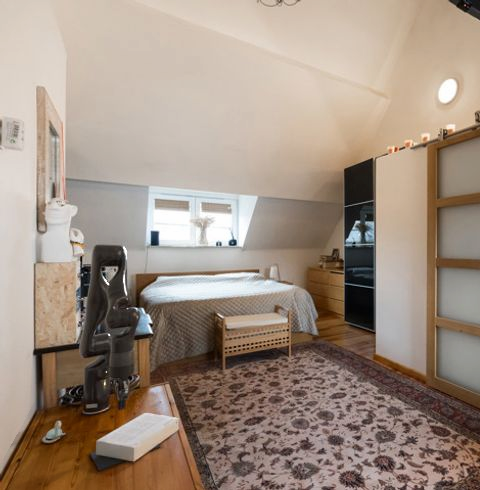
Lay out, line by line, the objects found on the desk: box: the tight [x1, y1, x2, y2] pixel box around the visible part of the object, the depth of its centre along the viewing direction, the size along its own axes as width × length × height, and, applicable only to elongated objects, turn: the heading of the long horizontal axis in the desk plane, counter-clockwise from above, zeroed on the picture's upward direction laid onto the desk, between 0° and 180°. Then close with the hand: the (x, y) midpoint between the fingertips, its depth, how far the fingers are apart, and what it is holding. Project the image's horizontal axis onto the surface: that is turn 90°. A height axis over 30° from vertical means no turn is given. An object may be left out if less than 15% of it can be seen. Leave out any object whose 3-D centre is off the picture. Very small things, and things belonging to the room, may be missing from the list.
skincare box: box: [95, 412, 180, 462], centre depth 130 cm, size 21×6×16 cm
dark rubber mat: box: [89, 444, 161, 472], centre depth 125 cm, size 13×18×1 cm
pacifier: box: [41, 420, 66, 444], centre depth 131 cm, size 7×6×6 cm
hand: (121, 408), depth 129 cm, fingers closed
